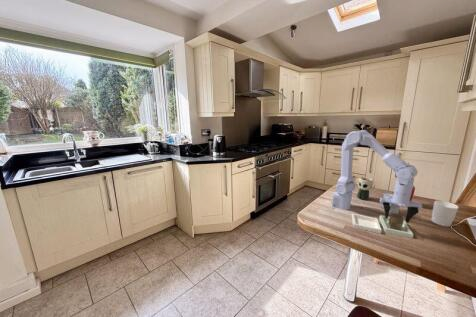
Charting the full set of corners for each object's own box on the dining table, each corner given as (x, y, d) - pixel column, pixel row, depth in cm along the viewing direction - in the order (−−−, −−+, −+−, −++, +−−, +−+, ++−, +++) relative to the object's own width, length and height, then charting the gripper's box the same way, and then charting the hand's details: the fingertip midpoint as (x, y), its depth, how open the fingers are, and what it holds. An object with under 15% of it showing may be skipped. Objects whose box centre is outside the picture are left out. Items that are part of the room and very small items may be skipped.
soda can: (413, 204, 111) (418, 185, 108) (407, 207, 109) (411, 187, 106) (401, 200, 117) (405, 182, 114) (394, 202, 115) (398, 183, 112)
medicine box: (398, 215, 101) (401, 200, 99) (388, 214, 102) (391, 199, 100) (389, 207, 108) (392, 193, 106) (380, 207, 109) (383, 193, 107)
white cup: (445, 219, 96) (451, 201, 94) (457, 228, 89) (463, 209, 87) (426, 217, 99) (430, 199, 96) (435, 225, 92) (441, 206, 89)
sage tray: (384, 233, 86) (385, 228, 85) (379, 219, 97) (379, 215, 96) (412, 239, 82) (413, 234, 81) (402, 224, 93) (404, 219, 92)
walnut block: (390, 228, 88) (392, 216, 87) (388, 224, 92) (390, 212, 90) (401, 230, 87) (404, 219, 85) (398, 226, 90) (401, 214, 89)
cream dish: (353, 228, 90) (353, 224, 89) (351, 217, 99) (352, 213, 98) (380, 235, 85) (381, 230, 84) (376, 222, 94) (376, 218, 94)
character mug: (350, 196, 123) (353, 177, 120) (357, 193, 126) (360, 175, 123) (368, 203, 114) (372, 182, 111) (375, 200, 117) (379, 180, 114)
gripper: (384, 192, 84) (379, 220, 88) (427, 199, 78) (420, 228, 82) (381, 187, 91) (376, 212, 94) (421, 192, 84) (414, 219, 88)
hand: (396, 219), depth 88 cm, fingers open, 7 cm apart
